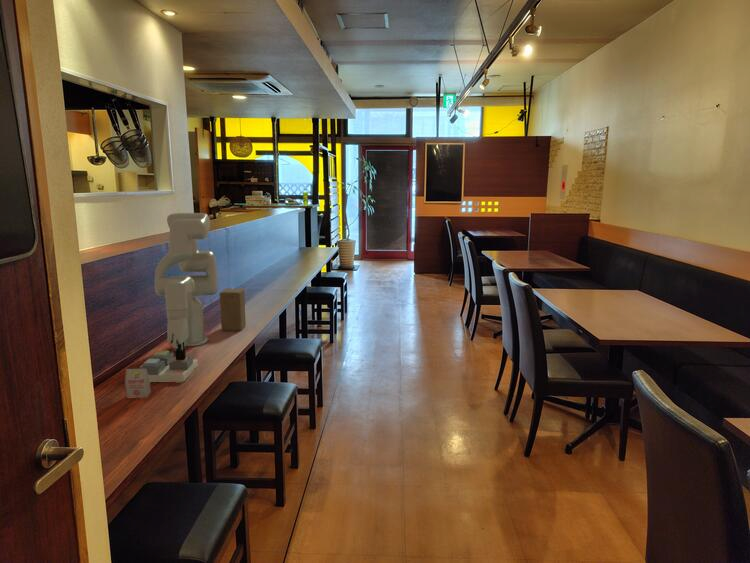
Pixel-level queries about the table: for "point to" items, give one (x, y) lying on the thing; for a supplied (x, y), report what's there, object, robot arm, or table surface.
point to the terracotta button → (181, 360)
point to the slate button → (152, 362)
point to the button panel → (170, 369)
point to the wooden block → (232, 309)
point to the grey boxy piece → (137, 383)
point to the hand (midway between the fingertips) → (180, 359)
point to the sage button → (161, 354)
